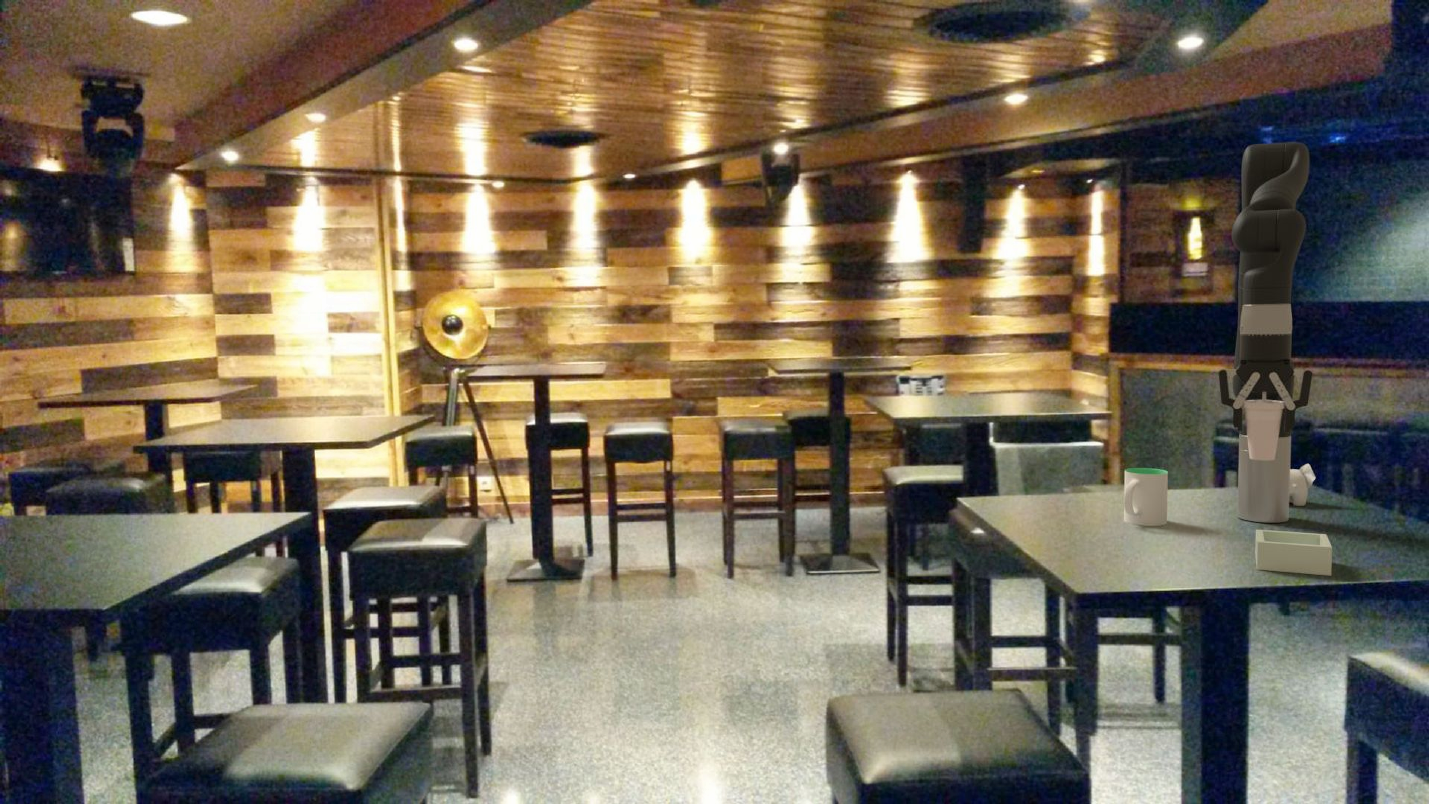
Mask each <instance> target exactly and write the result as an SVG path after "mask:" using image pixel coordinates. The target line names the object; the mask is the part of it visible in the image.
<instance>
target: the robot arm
mask: <svg viewBox="0 0 1429 804" xmlns="http://www.w3.org/2000/svg"><path fill="white" fill-rule="evenodd" d="M1241 161H1242V162H1241V212H1240V213H1239V214H1238V215H1237V217H1236V219H1235V220H1234V223H1233V226H1232V229H1231V241H1232V243H1233V246H1234V248H1236V250H1237V251H1239V253H1240V255H1239V265H1238V266H1239V267H1238V283H1237V285H1238V287H1237V289H1238V290H1237V291H1238V295H1237V296H1238V299H1237V302H1238V303H1237V304H1238V308H1237V309H1238V311H1237V313H1238V314H1237V315H1238V316H1237V331H1236V339H1235V340H1236V341H1235V350H1234V360H1233V368H1232V369H1225V368H1221V369H1220V370H1219V371H1218V382H1219V391H1220V402H1221V405H1224V406H1228V407H1230V408H1231V409H1232V410H1233V411H1232V414H1233V415H1232V425H1233V428H1234V429H1235V428H1236V431H1237V432H1238V433H1239V435H1238V436H1239V439H1238V442H1239V443H1238V478H1237V479H1238V480H1237V514H1236V515H1237V518H1239V519H1242V520H1245V521H1248V522H1255V523H1286V522H1288V521H1289V518H1290V517H1289V516H1290V502H1289V490H1290V469H1291V453H1292V450H1291V449H1292V447H1291V446H1292V430H1294V428H1295V424H1296V420H1295V419H1296V411H1297V409H1299V408H1303V407H1307V406H1308V404H1309V399H1310V392H1311V385H1312V379H1313V372H1312V371H1311V370H1310V369H1305V370H1303V369H1295V365H1294V364H1295V363H1294V362H1293V359H1292V335H1293V334H1292V332H1293V331H1292V330H1293V315H1292V304H1291V303H1292V302H1291V301H1292V288H1293V271H1294V267H1295V264H1296V260H1297V256H1298V254H1299V252H1300V249H1301V246H1302V243H1303V241H1304V239H1305V238H1304V237H1305V235H1306V230H1307V229H1306V228H1307V222H1306V219H1305V217H1304V216H1303V213H1301V212H1300V211H1299V210H1297V209H1296V207H1297V206H1296V204H1297V201H1298V199H1299V197H1301V194H1302V192H1303V191H1304V189H1305V188H1306V185H1307V182H1308V178H1309V173H1310V162H1311V161H1310V153H1309V148H1308V147H1307V146H1306V144H1304V143H1303V142H1296V141H1290V142H1289V141H1287V142H1276V143H1275V142H1271V143H1257V144H1256V143H1255V144H1251V145H1248V146H1247V147H1246V148H1245V150H1244V152H1243V155H1242V160H1241ZM1295 377H1296V380H1297V382H1298V383H1299V384H1300V385H1301V387H1300V391H1299V392H1300V393H1299V399H1294V398H1293V397H1294V387H1295ZM1231 382H1232V391H1233V395H1234V398H1235V399H1234V398H1231V397H1230V391H1229V389H1230V388H1229V383H1231ZM1263 392H1266V400H1275V401H1283V402H1284V403H1285V408H1284V409H1283V413H1282V419H1281V425H1280V430H1279V436H1278V442H1277V448H1276V454H1275V460H1253V459H1250V457H1249V448H1248V438H1247V429H1246V420H1245V418H1244V419H1243V414H1244V413H1243V411H1244V407H1242V406H1243V402H1244V401H1246V400H1262V393H1263ZM1293 399H1294V400H1293Z"/></svg>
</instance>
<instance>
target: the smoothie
mask: <svg viewBox="0 0 1429 804" xmlns="http://www.w3.org/2000/svg"><path fill="white" fill-rule="evenodd" d="M1241 408H1243V411H1244V419H1245V420H1246V429H1247V438H1248V448H1249V457H1250V459H1253V460H1275V454H1276V448H1277V442H1278V436H1279V430H1280V425H1281V419H1282V413H1283V409H1284V408H1285V403H1284V402H1283V401H1275V400H1266V392H1263V393H1262V400H1246V401H1244V402H1243V404H1242V407H1241Z"/></svg>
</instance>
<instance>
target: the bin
mask: <svg viewBox="0 0 1429 804" xmlns="http://www.w3.org/2000/svg"><path fill="white" fill-rule="evenodd" d="M1254 546H1255V553H1254V557H1255V563H1256V564H1255V565H1256V570H1262V571H1270V572H1271V571H1272V572H1281V573H1283V572H1284V573H1295V574H1307V575H1308V574H1309V575H1316V576H1317V575H1318V576H1319V575H1320V576H1330V577H1331V576H1332V562H1333V561H1332V560H1333V546H1332V545H1331V542H1330V540H1329V538H1328V535H1327V534H1326V533H1325V534H1324V533H1314V532H1313V533H1312V532H1297V531H1284V530H1270V529H1269V530H1268V529H1255V545H1254Z"/></svg>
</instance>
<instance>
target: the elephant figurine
mask: <svg viewBox="0 0 1429 804" xmlns="http://www.w3.org/2000/svg"><path fill="white" fill-rule="evenodd" d="M1315 480H1316V475H1315V473H1314V470H1313V469H1312V467H1311V464H1309V463H1305V464H1304V465H1302V466H1301V467H1300V468H1299V469H1295V468H1292V469H1291V468H1290V490H1289V503H1291V504H1293V506H1298V507H1303V506H1305V505H1306V503H1307V499H1308V489H1310V488H1311V487H1312V486H1313V482H1314V481H1315Z"/></svg>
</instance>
